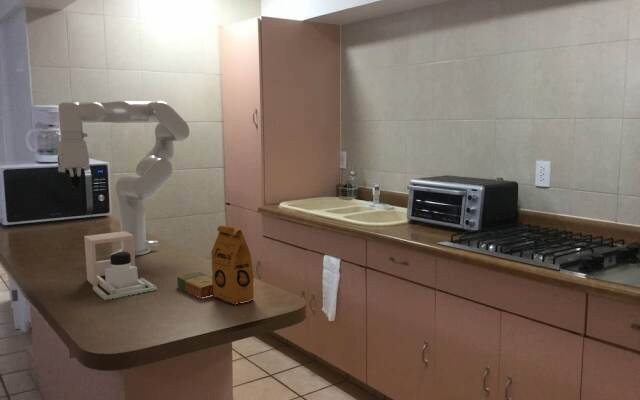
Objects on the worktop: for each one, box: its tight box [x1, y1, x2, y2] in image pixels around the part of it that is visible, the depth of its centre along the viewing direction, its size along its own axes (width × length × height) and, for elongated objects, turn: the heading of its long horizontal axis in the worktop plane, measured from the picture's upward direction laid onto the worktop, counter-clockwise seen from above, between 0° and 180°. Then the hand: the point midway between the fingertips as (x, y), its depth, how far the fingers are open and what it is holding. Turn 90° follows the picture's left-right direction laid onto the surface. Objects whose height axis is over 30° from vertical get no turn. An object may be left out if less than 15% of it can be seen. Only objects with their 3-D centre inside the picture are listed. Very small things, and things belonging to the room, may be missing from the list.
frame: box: [92, 277, 158, 301], centre depth 179 cm, size 16×13×1 cm
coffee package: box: [210, 225, 255, 305], centre depth 167 cm, size 10×12×22 cm
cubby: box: [83, 231, 136, 287], centre depth 189 cm, size 14×9×15 cm, turn 126°
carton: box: [176, 272, 213, 298], centre depth 177 cm, size 8×16×4 cm, turn 40°
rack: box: [96, 259, 146, 295], centre depth 185 cm, size 10×26×5 cm, turn 36°
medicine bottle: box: [104, 251, 139, 289], centre depth 180 cm, size 7×7×12 cm
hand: (75, 187), depth 207 cm, fingers closed
